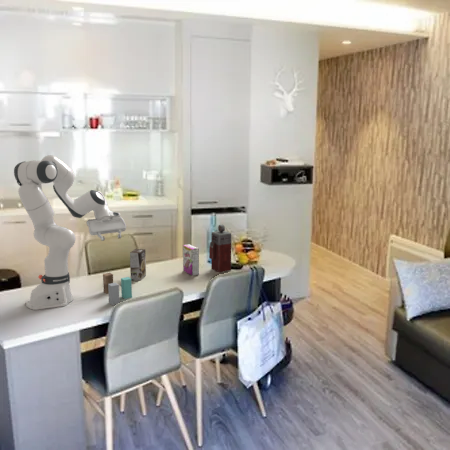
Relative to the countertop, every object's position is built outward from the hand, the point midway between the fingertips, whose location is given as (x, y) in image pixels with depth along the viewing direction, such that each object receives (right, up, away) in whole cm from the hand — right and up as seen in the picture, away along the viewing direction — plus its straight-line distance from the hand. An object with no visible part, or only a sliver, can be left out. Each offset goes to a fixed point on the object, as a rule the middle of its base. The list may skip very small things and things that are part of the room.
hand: (111, 238), depth 274 cm
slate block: (+5, -32, -17) cm, 36 cm away
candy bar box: (+40, -21, +33) cm, 56 cm away
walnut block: (-1, -28, -1) cm, 28 cm away
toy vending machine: (+57, -20, +40) cm, 73 cm away
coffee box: (+10, -23, +24) cm, 35 cm away
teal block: (+10, -30, -8) cm, 32 cm away
